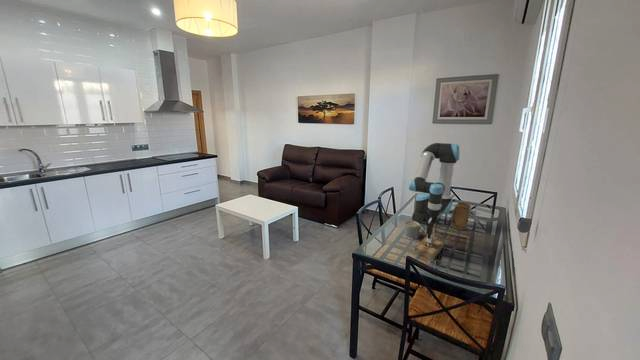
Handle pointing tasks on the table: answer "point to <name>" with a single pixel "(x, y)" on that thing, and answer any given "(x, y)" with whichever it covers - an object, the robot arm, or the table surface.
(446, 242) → the table surface
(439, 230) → the table surface
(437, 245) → the board
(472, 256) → the table surface
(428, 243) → the peg
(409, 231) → the coffee mug
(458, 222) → the block
